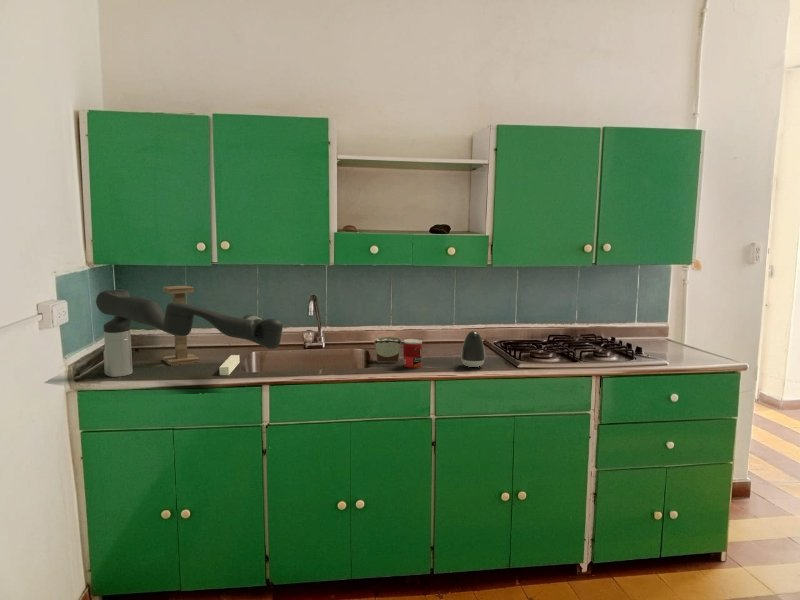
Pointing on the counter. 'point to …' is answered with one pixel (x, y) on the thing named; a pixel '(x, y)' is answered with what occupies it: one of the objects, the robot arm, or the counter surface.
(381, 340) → the food container
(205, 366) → the counter surface
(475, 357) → the grey egg shaped speaker
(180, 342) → the stand
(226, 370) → the bar
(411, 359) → the canned food
